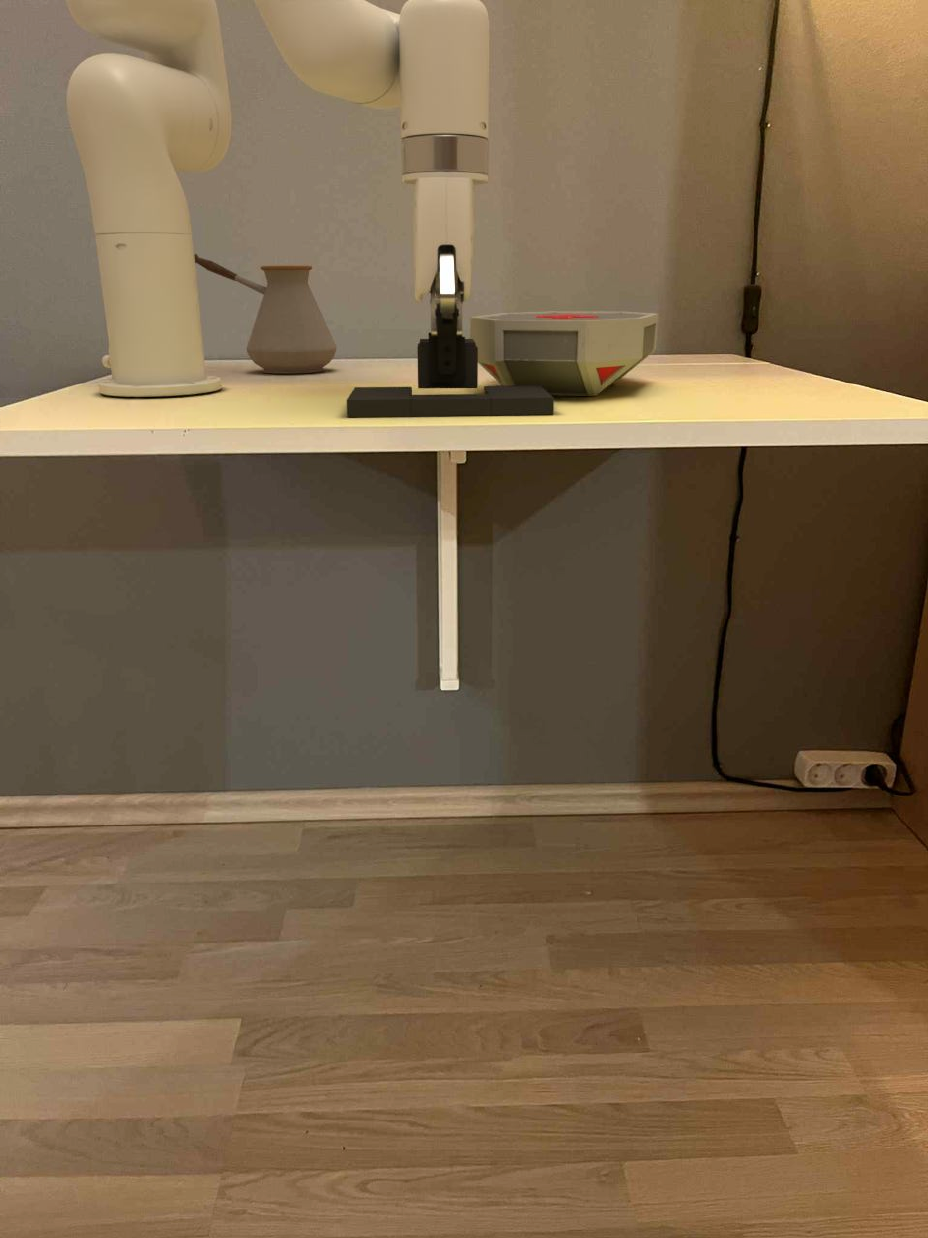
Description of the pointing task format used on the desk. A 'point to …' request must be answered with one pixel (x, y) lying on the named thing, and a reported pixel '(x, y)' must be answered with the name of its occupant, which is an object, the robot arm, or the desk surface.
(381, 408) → the base pad
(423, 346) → the black squarish block
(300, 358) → the coffee pot
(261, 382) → the desk surface
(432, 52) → the robot arm
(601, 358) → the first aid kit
